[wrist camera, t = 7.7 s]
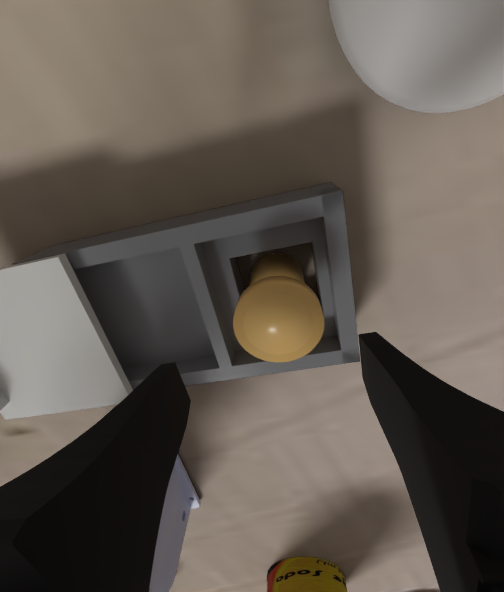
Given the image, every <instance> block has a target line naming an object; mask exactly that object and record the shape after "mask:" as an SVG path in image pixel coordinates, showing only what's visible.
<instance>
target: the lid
mask: <svg viewBox="0 0 504 592" xmlns="http://www.w3.org/2000/svg"><path fill="white" fill-rule="evenodd" d="M132 391H133V389H132V387H131V385H130V383H129V381H128V379H127V377H126V375H125V373H124V371H123V369H122V367H121V365H120V363H119V361H118V359H117V357H116V355H115V353H114V351H113V349H112V347H111V345H110V343H109V341H108V339H107V337H106V335H105V333H104V331H103V329H102V327H101V325H100V323H99V321H98V319H97V317H96V315H95V313H94V311H93V309H92V307H91V305H90V303H89V301H88V299H87V297H86V295H85V293H84V291H83V289H82V287H81V285H80V283H79V281H78V279H77V277H76V275H75V273H74V271H73V269H72V267H71V265H70V263H69V261H68V259H67V257H66V255H65V253H64V254H60V255H55V256H51V257H46V258H42V259H37V260H33V261H28V262H24V263H19V264H15V265H10V266H6V267H1V268H0V413H1V414H2V416H3V417H4V418H5V420H8V419H15V418H22V417H30V416H37V415H45V414H52V413H59V412H67V411H74V410H81V409H89V408H96V407H103V406H111V405H118V404H119V403H120V402H121V401H122V400H124V399H125V398H126V397H127V396H128V395H129V394H130V393H131V392H132Z"/></svg>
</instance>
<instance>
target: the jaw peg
mask: <svg viewBox="0 0 504 592" xmlns="http://www.w3.org/2000/svg"><path fill="white" fill-rule="evenodd" d="M233 328H234V333H235V336H236V338H237V340H238V342H239V343H240V345H241V346H242V347H243V348H244V349H245V350H246V351H247V352H248V353H250V354H251V355H253V356H254V357H257V358H259V359H261V360H264V361H269V362H289V361H293V360H296V359H299V358H301V357H303V356H305V355H306V354H308V353H309V352H310V351H312V350H313V349H314V348H315V347H316V345H317V344H318V343H319V341H320V339H321V337H322V334H323V331H324V316H323V312H322V308H321V305H320V302H319V300H318V297H317V296H316V294H315V293H314V292H313V290H312V289H311V288H310V287H309V286H307V285H306V284H305V281H304V277H303V272H302V269H301V267H300V265H299V264H298V262H297V261H296V260H295V259H293V258H292V257H290V256H288V255H285V254H280V253H275V254H269V255H267V256H264V257H263V258H261V259H260V260H259V261H258V262H257V263H256V264H255V266H254V267H253V270H252V273H251V279H250V285H249V286H248V287H247V288H246V289H245V290H244V292H243V293H242V294H241V296H240V297H239V299H238V302H237V305H236V309H235V314H234V318H233Z"/></svg>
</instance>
